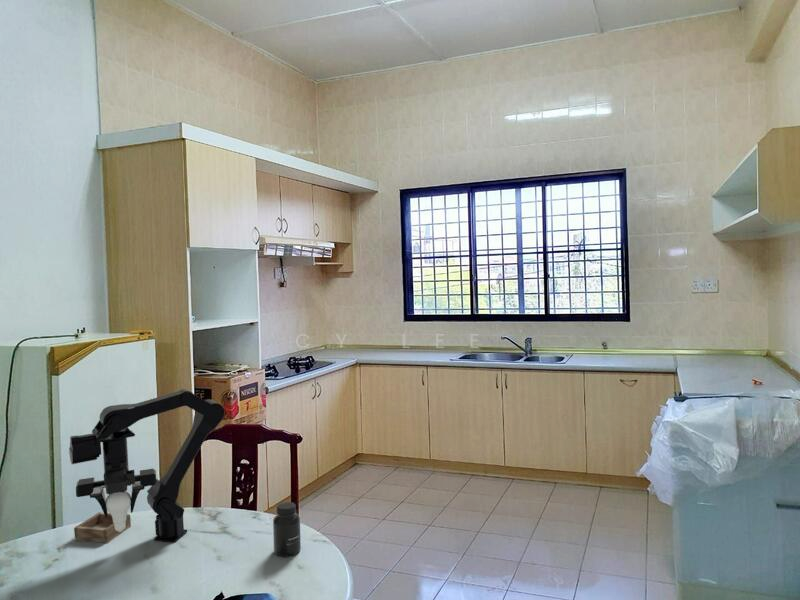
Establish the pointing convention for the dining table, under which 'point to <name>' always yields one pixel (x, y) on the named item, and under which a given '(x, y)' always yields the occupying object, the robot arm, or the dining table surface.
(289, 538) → the supplement bottle
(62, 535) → the dining table surface
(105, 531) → the brown square tray
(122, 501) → the lightbulb
